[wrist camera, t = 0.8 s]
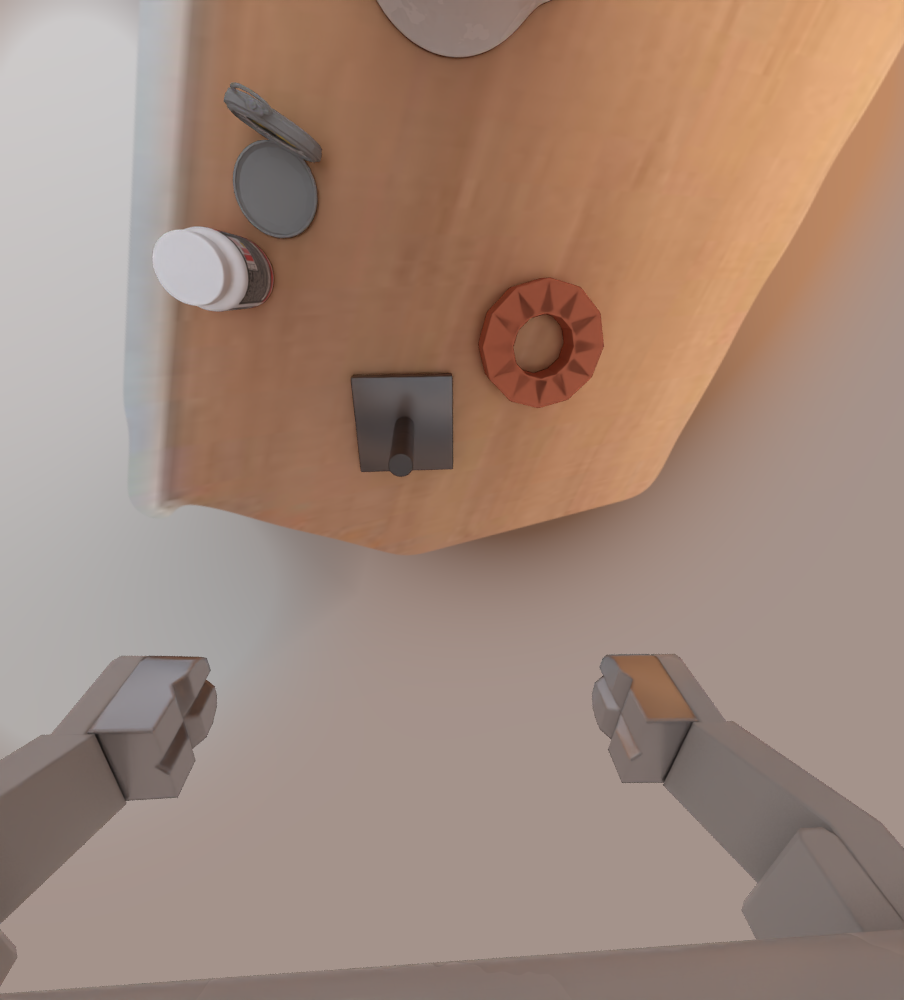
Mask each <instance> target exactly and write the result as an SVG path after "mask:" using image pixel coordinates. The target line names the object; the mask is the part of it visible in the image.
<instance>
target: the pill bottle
mask: <svg viewBox="0 0 904 1000" xmlns="http://www.w3.org/2000/svg"><path fill="white" fill-rule="evenodd" d="M152 260H153V267H154V271H155V274H156V276H157V278H158V280H159V282H160V283H161V285H162V286H163V287H164V289H165V290H166V291H167V292H168V293H169V294H170V295H172V296H173V297H174V298H176V299H177V300H179V301H181V302H183V303H186V304H189V305H194V306H198V307H200V308H202V309H205V310H209V311H229V310H238V309H246V308H253V307H256V306H258V305H260V304H262V303H263V302H264V301H266V299H267V298H268V297H269V295H270V294H271V291H272V288H273V282H274V276H273V270H272V267H271V264H270V262H269V260H268V258H267V256H266V255H265V253H264V252H263V251H262V250H261V249H260V248H259V247H258V246H257V245H256V244H255V243H253V242H252V241H250V240H248V239H246V238H243V237H240V236H237V235H233V234H229V233H226V232H222V231H219V230H215V229H212V228H207V227H190V228H186V229H184V230H172V231H169V232H167V233H165V234H163V235H162V236H161V237H160V238H159V239H158V240H157V242H156V244H155V246H154V249H153V255H152Z"/></svg>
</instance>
